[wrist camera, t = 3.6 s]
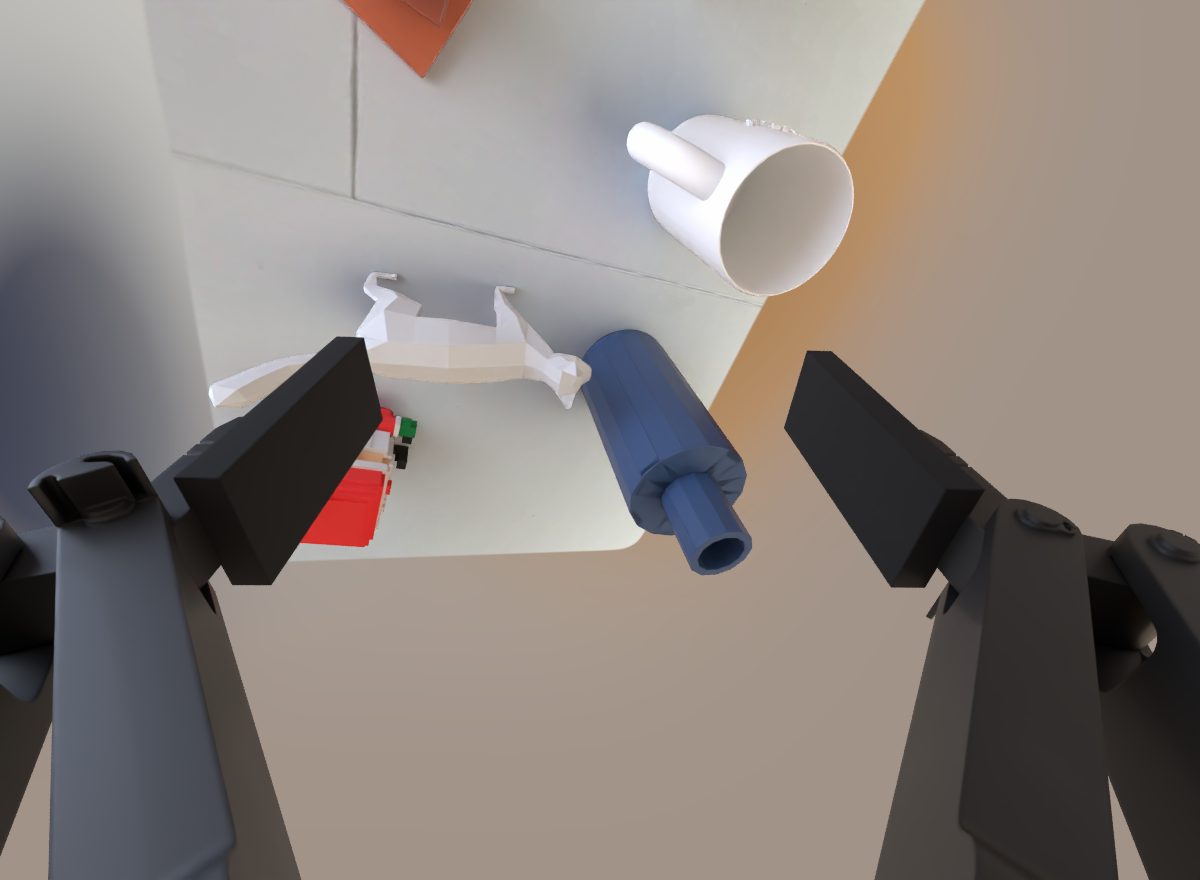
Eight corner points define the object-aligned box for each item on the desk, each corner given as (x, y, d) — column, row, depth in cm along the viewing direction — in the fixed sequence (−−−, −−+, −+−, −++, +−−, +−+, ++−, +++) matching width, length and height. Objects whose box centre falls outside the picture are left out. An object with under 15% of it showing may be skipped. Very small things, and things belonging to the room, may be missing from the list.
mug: (637, 47, 29) (721, 47, 20) (773, 146, 35) (888, 181, 26) (579, 183, 33) (627, 234, 24) (709, 253, 39) (789, 317, 30)
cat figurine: (561, 340, 40) (601, 445, 30) (285, 321, 34) (212, 444, 23) (569, 288, 38) (617, 382, 27) (272, 257, 31) (184, 364, 21)
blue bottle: (624, 311, 40) (740, 484, 24) (681, 363, 45) (808, 536, 29) (560, 378, 42) (627, 573, 27) (620, 420, 47) (707, 608, 31)
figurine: (402, 473, 45) (390, 580, 36) (315, 461, 42) (278, 576, 33) (419, 398, 40) (411, 499, 31) (324, 380, 37) (284, 485, 28)
